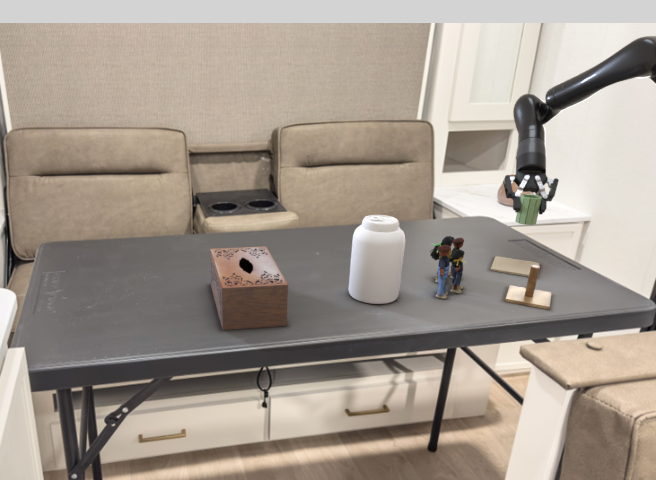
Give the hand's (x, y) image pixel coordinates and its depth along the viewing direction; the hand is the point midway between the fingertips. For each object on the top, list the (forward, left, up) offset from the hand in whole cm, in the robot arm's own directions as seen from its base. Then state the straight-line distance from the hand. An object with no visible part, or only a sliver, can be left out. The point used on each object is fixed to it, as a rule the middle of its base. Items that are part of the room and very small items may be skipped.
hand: (529, 211), depth 155 cm
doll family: (+16, +20, -17) cm, 31 cm away
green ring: (0, -2, -3) cm, 4 cm away
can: (+31, +35, -17) cm, 50 cm away
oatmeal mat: (+1, -4, -17) cm, 18 cm away
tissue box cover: (+56, +56, -18) cm, 81 cm away
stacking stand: (-4, +18, -17) cm, 26 cm away
